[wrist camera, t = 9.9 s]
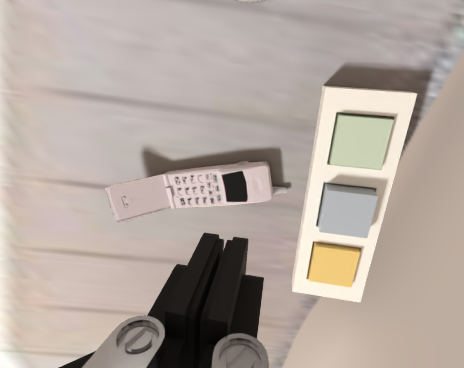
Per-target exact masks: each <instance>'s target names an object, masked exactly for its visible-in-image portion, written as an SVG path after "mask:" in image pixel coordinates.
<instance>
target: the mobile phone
mask: <svg viewBox="0 0 464 368" xmlns="http://www.w3.org/2000/svg"><path fill="white" fill-rule="evenodd" d="M286 192H287V188H286V187H272V182H271V174H270V167H269V164H268V163H267V162H264V161H263V162H249V163H248V161H241V162H238V163H237V164H228V165H217V166H208V167H199V168H191V169H183V170H175V171H169V172H166V173H164V174H160V175H156V176H151V177H147V178H142V179H138V180H134V181H130V182H125V183H117V184H113V185H112V186H110V187H106V193H107V196H108V200H109V203H110V206H111V209H112V211H113V214H114V216H115V218H116V220H117V222H118V223H119V222H123V221H124V222H126V221H130V220H133V219H134V218H137V217H141V216H144V215H147V214H151V213H154V212H157V211H161V210H164V208H165V209H167V208H168V207H169V208H181V207H207V206H221V205H236V204H247V203H256V202H264V201H269V200H270V199H271V198H272V196H273V195H274V194H280V193H286Z"/></svg>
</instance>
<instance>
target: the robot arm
mask: <svg viewBox="0 0 464 368" xmlns="http://www.w3.org/2000/svg"><path fill="white" fill-rule="evenodd" d="M237 1H240V2H247V3H254V2H262V1H264V0H237ZM223 247H224V240H223V239H219V235H217V234H210V233H204V234H203V235H202V237H201V239H200V241H199V243H198V245H197V247H196V249H195V251H194V253H193V255H192V257H191V259H190V261H189V263H188V265H181V264H177V265H176V266H175V267H174V269H173V271H172V273H171V275H170V276H169V278H168V280H167V282H166V283H165V285H164V287H163V289H162V291H161V292H160V294H159V296H158V298H157V299H156V301H155V303H154V305H153V307H152V308H151V310H150V312H149V314H148V315H147V316H136V317H133V318H130V319H128V320H126V321H124V322H122V323H121V324H120V325H119V326H118V327H117V328H116V329H115V330H114V331H113V332H112V333H111V334H110V336H109V337H108V338H107V339H106V340H105V341H104V343H103V344H102V345H101V346H100V347H99V348H98V350H97V351H95V352H93V353H90V354H88V355H86V356H84V357H82V358H79V359H77V360H75V361H73V362H70V363H68V364H66V365H64V366H62V367H59V368H269V362H268V356H267V352H266V349H265V348H264V346H263V345H262V343H261V342H259V341H258V340H257V333H258V324H259V316H260V307H261V299H262V290H263V281H264V278H263V277H257V276H251V275H245V273H246V261H247V250H248V239H246V238H238V237H233V240H227V243H226V246H225V248H224V251H223Z"/></svg>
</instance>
